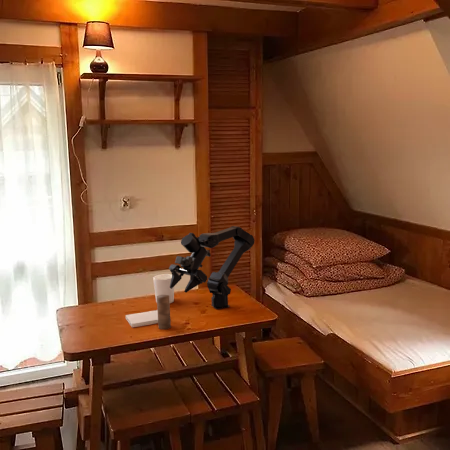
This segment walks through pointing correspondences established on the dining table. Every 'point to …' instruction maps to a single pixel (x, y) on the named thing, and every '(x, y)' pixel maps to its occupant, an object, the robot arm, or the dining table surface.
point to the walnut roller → (163, 312)
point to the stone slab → (142, 318)
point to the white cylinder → (163, 286)
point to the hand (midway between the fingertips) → (177, 290)
